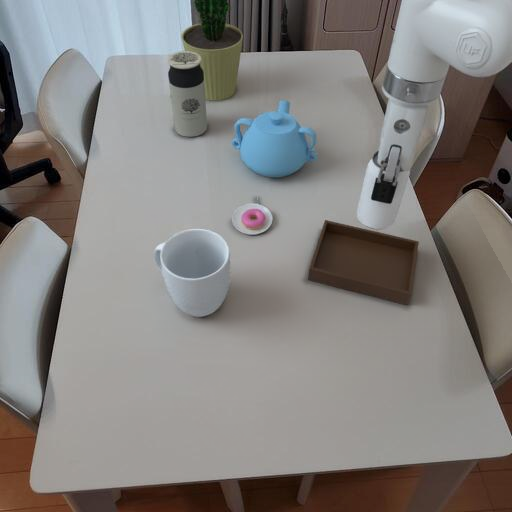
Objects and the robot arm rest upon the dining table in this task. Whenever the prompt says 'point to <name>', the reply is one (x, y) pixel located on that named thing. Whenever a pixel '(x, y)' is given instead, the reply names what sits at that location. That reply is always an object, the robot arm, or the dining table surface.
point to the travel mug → (187, 93)
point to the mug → (195, 270)
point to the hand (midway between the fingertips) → (384, 185)
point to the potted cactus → (215, 48)
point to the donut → (252, 219)
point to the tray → (365, 262)
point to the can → (374, 211)
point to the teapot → (274, 143)
